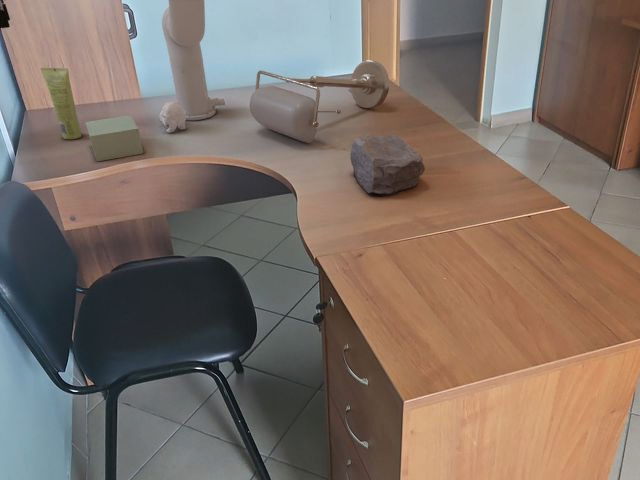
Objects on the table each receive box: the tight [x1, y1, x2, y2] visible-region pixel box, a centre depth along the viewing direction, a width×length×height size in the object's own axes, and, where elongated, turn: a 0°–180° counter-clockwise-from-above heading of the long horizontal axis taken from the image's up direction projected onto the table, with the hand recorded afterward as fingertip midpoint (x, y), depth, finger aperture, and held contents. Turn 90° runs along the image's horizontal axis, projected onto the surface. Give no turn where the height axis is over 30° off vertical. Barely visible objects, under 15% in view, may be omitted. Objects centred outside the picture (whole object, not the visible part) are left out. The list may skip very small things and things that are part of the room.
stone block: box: [349, 134, 426, 197], centre depth 141 cm, size 17×12×15 cm
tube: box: [40, 67, 82, 140], centre depth 165 cm, size 6×5×20 cm
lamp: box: [249, 59, 390, 144], centre depth 174 cm, size 27×23×40 cm
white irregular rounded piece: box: [159, 100, 187, 134], centre depth 173 cm, size 6×8×12 cm
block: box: [85, 114, 145, 162], centre depth 160 cm, size 12×12×7 cm
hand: (3, 24), depth 152 cm, fingers open, 9 cm apart
